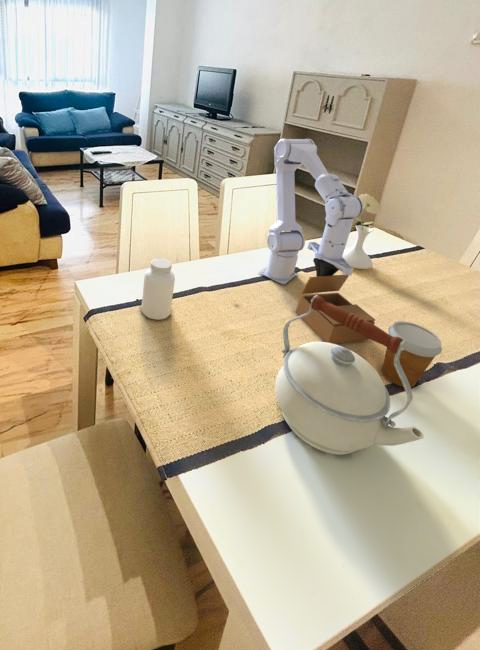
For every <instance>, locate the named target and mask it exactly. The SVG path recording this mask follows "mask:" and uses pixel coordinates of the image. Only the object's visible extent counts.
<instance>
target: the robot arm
mask: <svg viewBox="0 0 480 650" xmlns="http://www.w3.org/2000/svg"><path fill="white" fill-rule="evenodd" d="M317 151H318V146H317V144H315V141H314V140H313V139H311V138H304V139H303V138H281V139H279V140H278V142H277V143H276V144H275V146H274V148H273V154H274V156H273V157H274V159H273V161H274V167H275V185H276V186H275V192H276V193H275V195H276V196H275V197H276V222H275V223H273V224H272V225H271V226H270V227H269V228H268V234H267V238H266V244H267V247H268V249H269V250H270V253H269V258H268V261H267V266H266V269H264V270H263V271H261V272H260V275H261V276H264V277H266V278H268V279H270V280H273V281H275V282H276V283H279V284H281V285H286V284H287V283H289V281H291V280H292V279H293V278H295V277H296V276H297V273H296V272H295V270H296V266H297V263H298V258H299V256H298V255H299V252H300V251H302V250H304V247H305V245H306V239H305V236H304V232H303V227H302V226H301V225H300V224H299V223H297V222H296V186H295V185H296V184H295V183H296V181H295V179H296V178H295V172H296V170H297V169H298V168H300V167H302V166H304V168H305V169H306V171H308V173H309V174H310V175H311V176H312V178H313V179H314V180H315V182H314V187H315V189H316V191H317V192H318V194H319V195H320V197H321V198H322V200H323V201H324V202H325V204H324V210H325V218H324V220H325V226H324V229H323V234H322V237H321V240H320V243H317V242H316V241H311V242H310V241H309V242H308V244H307V249H308V250H309V251H313V252H314V258H313V260H312V261H313V264H314V267H315V271H316V272H315V274H316V275H315V277H318V276H332V275H336V273H338V272H339V271H340V272H341V275H349V276H352V274H353V271H354V268H352V267H351V266H350V265H349V264H348V263H347V262H346V261H345V259H344V258H343V257H342V256H343V253H344V250H345V249H346V246H347V244H348V241H349V240H348V239H349V237H350V233H351V230H352V227H353V223H354V220H355V218H357V217H360V215H361V214H362V215H363V213H362V211H363V204H362V202H361V200H360V198H359V197H360V196H358V195H356V194H355V195H354V194H352V193H351V192H349V191H348V190H347V189H346V187H345V186H344V185H343V183H342V181H341V180H340V178H339V176H338V175H337V174H334V173H329V172H328V170H327V168H326V167H325V165H324V163H323V162H322V160H321V158H320V157H319V155H318V153H317Z"/></svg>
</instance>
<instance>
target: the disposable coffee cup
mask: <svg viewBox="0 0 480 650" xmlns="http://www.w3.org/2000/svg"><path fill="white" fill-rule="evenodd" d="M387 334H389V335H391V336H393V337H400V338H401V339H402V340H405V343H404V350H403V351H401V353H400V357H399V361H400V365H401V367H402V369H403V371H404V373H405V375H406V377H407V380H408V382H409V384H410V387H411V388H414V387H415V385H416V384H417V382H418V381H419V380H420V378H421V377H422V376H423V374H424V373H425V371H426V370H427V369H428V367H430V364H432V362H433V360H434V359H435V358H436V357H437V356H438V355H440V354H441V353H442V351H443V348H442V341H441V339H440V338H439V336H438V335H436V334H435V333H434V332H433V331H431V330H429V329H428V328H426V327H424V326H422V325H419V324H417V323H414V322H411V321H402V320H399V321H395V322H394V323H392V325H390V326H389V327H388V329H387ZM395 355H396V353H392V352H390V351H389V349H388V348H387V347H385V354H384V358H383V363H382V366H381V367H382V368H381V373H382V375H383V376H384V378H386V379H387V380H388V381H389V382H391V383H393V384H394V385H396V386H399V387H402V388H404V386H403V383H402V381H401V379H400V377H399V375H398V373H397V370H396V368H395V365H394V358H395Z"/></svg>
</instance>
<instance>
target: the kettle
mask: <svg viewBox="0 0 480 650" xmlns="http://www.w3.org/2000/svg"><path fill="white" fill-rule="evenodd" d="M313 310H320V311H322V312H323V313H325V314H326V315H328V316H329V317H330V318H332V319H333V320H335V321H337V322H338V323H340V324H343V325H344V326H346V327H349V329H351V330H353V331H355V332H358V333H359V334H361V335H362V336H364V337H366V338H368V339H369V340H370V341H373V342H375V343H377V344H379V345H382V346H384V347H385V348H388V349H389V351H390V352H392V353H396V355H395V358H394V365H395V368H396V370H397V373H398V375H399V377H400V379H401V381H402V383H403V386H404V387H403V389H404V391H405V393H406V404H405V405H404V406H403V407H401V408H400V409H398V410H396V411H394V412H393V413H391V414H390V415H389V416H388V417H387V416H386V415H387V414H388V413H389V411H390V408H391V397H390V393H389V391H388V389H387V387H386V385H385V384H384V382H383V380H382V378H381V376H380V374H379V372H377V371H376V369H375V368H374V367H373V366H372V365H371V364H370V363H369V361H367V360H366V359H365V358H364V357H362V356H361V355H359V354H358V353H356V352H355V351H353V350H351V349H349V348H347V347H345V346H341V345H339V344H332V343H327V342H325V341H311V342H306V343H303V344H301V345H298V346H295V347H293V348H291V345H290V339H289V327H290V324H291V323H292V322H295V321H296V320H299V319H302V317H305V316H307V315H308V314H310V313H311V312H312V311H313ZM282 338H283V339H282V340H283V346H284V348H282V349H281V354H283V356H282V359H283V361H282V366H281V367H280V369H279V371H278V373H277V375H276V379H275V384H274V391H275V397H276V400H277V403H278V406H279V408H280V410H281V413H282V416H283V418H284V420H285V422H286V424H287V426H288V427H289V428H290V429H291V431H292V432H293V433H294V434H295V435H296V436H297V437H298V438H299V439H300V440H301V441H303V442H305V443H306V444H307V445H309V446H311V447H312V448H315V449H317V450H319V451H321V452H323V453H327V454H332V455H337V456H338V455H348V454H351V453H353V452H357V451H362V450H365V449H368V448H370V447H372V446H385V447H386V446H387V447H392V446H399V445H404V444H407V443H411V442H416V441H420V440H423V439H424V438H425V435H424V433H423V431H421V429H419V428H418V427H416V426H409V427H408V426H407V427H396V422H395V421H394V420H392V419H394V418H395V417H398V416H400V415H401V414H403V412H405V411H406V410H407V409H408V408H409V406H410V405H411V403H412V401H413V390H412V387H410V384H409V382H408V380H407V377H406V375H405V373H404V371H403V369H402V367H401V365H400V361H399V357H400V353H401V351H403V350H404V343H405V340H402V339H401V338H400V337H393V336H391V335H389V333H388V332H386V331H384V329H381V328H380V327H378V326H377V325H375V324H374V325H373V324H372V323H370V322H367V321H364V320H363V319H362V318H359V317H358V316H355V315H354V314H352V313H349V312H348V311H346V310H345V309H343V308H340V307H338V306H335V305H333V304H330V303H328V302H325V301H324V299H323V298H322V297H320V296H318V295H316V296H314V297H313V299H312V300H311V305H310V308H309V311H308V313H306V314H303V315H300V316H299V315H298V316H296V317H293V318H292V319H290V320H289V321H287V322H286V323H285V325H284V326H283V331H282Z"/></svg>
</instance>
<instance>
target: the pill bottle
mask: <svg viewBox="0 0 480 650" xmlns="http://www.w3.org/2000/svg"><path fill="white" fill-rule="evenodd" d="M172 266H173V265H172V262H171V261H170V260H168V259H166V258H162V257H161V258H160V257H158V258H157V257H156V258H154V259H152V260H151V262H150V267H149V268H148V269H146V271H145V272H144V275H143V285H142V286H143V287H142V297H141V298H142V299H141V313H142V314H143V315H144V316H145V317H147V318H148V319H151V320H157V321H160V320H165V319H167V318H168V317H169V316H170V314H171V312H172V306H173V305H172V304H173V295H174V289H175V281H176V278H175V274H174V272H173V271H172V268H173V267H172Z"/></svg>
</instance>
